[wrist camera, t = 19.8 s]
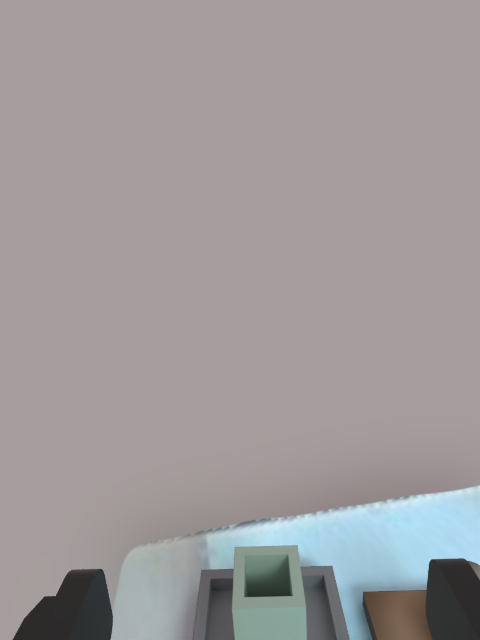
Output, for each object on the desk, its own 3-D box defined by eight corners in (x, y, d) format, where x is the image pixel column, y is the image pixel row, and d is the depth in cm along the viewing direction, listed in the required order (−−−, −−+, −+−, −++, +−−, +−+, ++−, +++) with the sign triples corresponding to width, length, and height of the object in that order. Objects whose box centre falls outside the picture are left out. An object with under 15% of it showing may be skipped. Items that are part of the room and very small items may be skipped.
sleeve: (299, 637, 34) (297, 545, 31) (308, 708, 29) (306, 607, 26) (242, 638, 34) (234, 547, 31) (241, 709, 29) (232, 608, 26)
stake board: (490, 600, 37) (504, 508, 34) (601, 779, 25) (636, 663, 22) (362, 604, 37) (365, 513, 34) (414, 781, 26) (425, 668, 23)
